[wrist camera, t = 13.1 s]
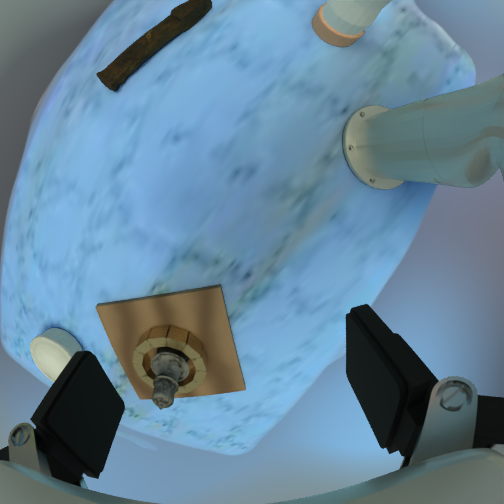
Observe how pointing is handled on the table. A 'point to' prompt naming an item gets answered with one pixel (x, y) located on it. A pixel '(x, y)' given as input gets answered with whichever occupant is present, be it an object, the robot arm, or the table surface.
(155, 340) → the wooden ring
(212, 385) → the wooden board
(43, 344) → the ramekin
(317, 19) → the pepper shaker
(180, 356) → the stone chess piece
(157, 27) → the brown long rounded piece
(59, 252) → the table surface
